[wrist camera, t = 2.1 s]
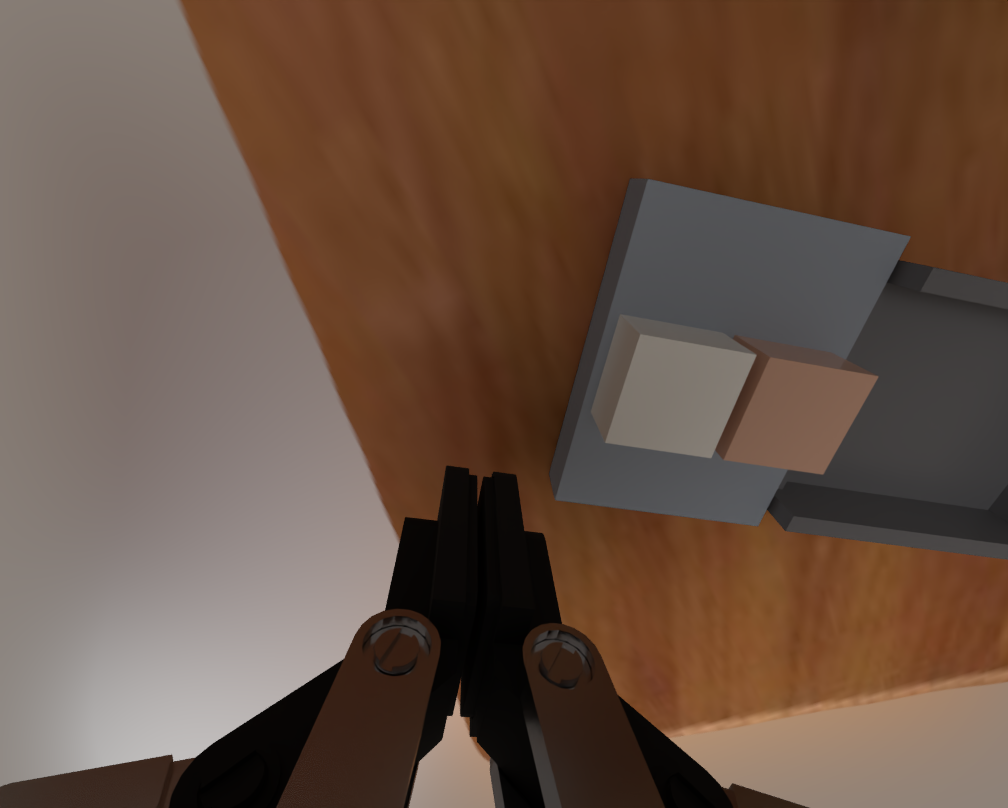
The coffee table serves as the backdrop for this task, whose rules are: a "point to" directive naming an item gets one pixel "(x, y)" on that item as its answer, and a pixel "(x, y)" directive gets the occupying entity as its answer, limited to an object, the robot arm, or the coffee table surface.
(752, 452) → the tile
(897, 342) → the box
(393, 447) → the coffee table surface
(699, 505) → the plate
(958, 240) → the coffee table surface
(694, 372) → the tile
